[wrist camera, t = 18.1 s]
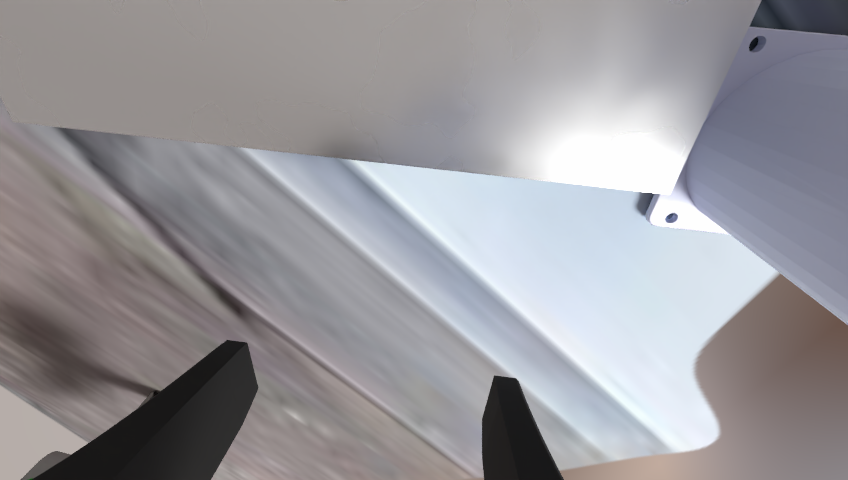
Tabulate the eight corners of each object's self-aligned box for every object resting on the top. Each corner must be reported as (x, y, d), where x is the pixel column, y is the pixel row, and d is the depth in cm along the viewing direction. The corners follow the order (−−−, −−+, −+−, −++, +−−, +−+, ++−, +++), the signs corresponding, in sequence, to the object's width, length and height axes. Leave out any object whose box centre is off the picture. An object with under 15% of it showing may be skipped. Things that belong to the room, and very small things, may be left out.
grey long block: (658, -33, 12) (798, -78, 7) (600, 139, 15) (670, 194, 10) (106, -81, 13) (-123, -153, 8) (155, 92, 16) (13, 122, 11)
